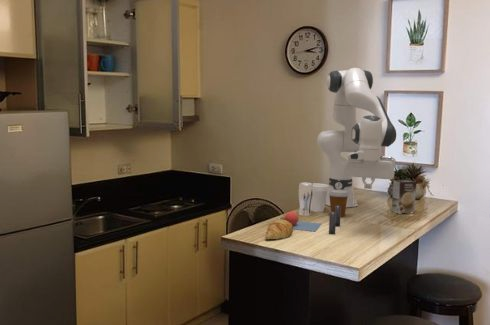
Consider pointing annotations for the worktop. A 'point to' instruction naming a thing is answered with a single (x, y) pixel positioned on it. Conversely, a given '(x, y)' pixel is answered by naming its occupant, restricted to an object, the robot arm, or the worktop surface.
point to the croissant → (279, 229)
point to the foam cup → (319, 197)
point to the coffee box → (403, 196)
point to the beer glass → (305, 198)
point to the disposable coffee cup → (338, 200)
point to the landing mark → (306, 226)
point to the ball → (292, 217)
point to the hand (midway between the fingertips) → (367, 188)
